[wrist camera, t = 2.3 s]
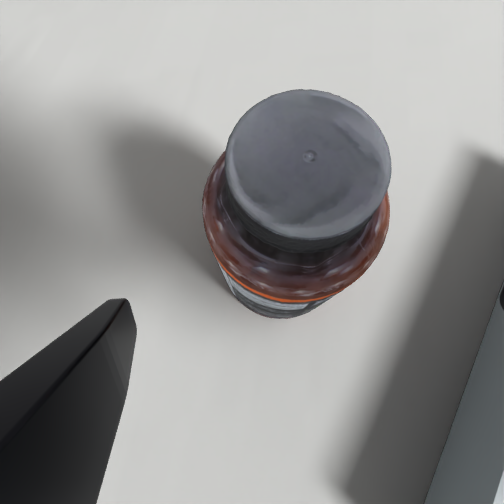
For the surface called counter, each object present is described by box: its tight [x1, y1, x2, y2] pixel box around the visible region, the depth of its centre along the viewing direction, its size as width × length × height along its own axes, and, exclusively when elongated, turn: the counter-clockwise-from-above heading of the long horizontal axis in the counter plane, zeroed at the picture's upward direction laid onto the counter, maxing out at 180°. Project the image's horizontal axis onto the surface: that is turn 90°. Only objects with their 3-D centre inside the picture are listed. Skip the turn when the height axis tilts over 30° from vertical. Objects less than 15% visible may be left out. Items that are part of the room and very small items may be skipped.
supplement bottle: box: [202, 89, 391, 319], centre depth 14 cm, size 6×6×11 cm
